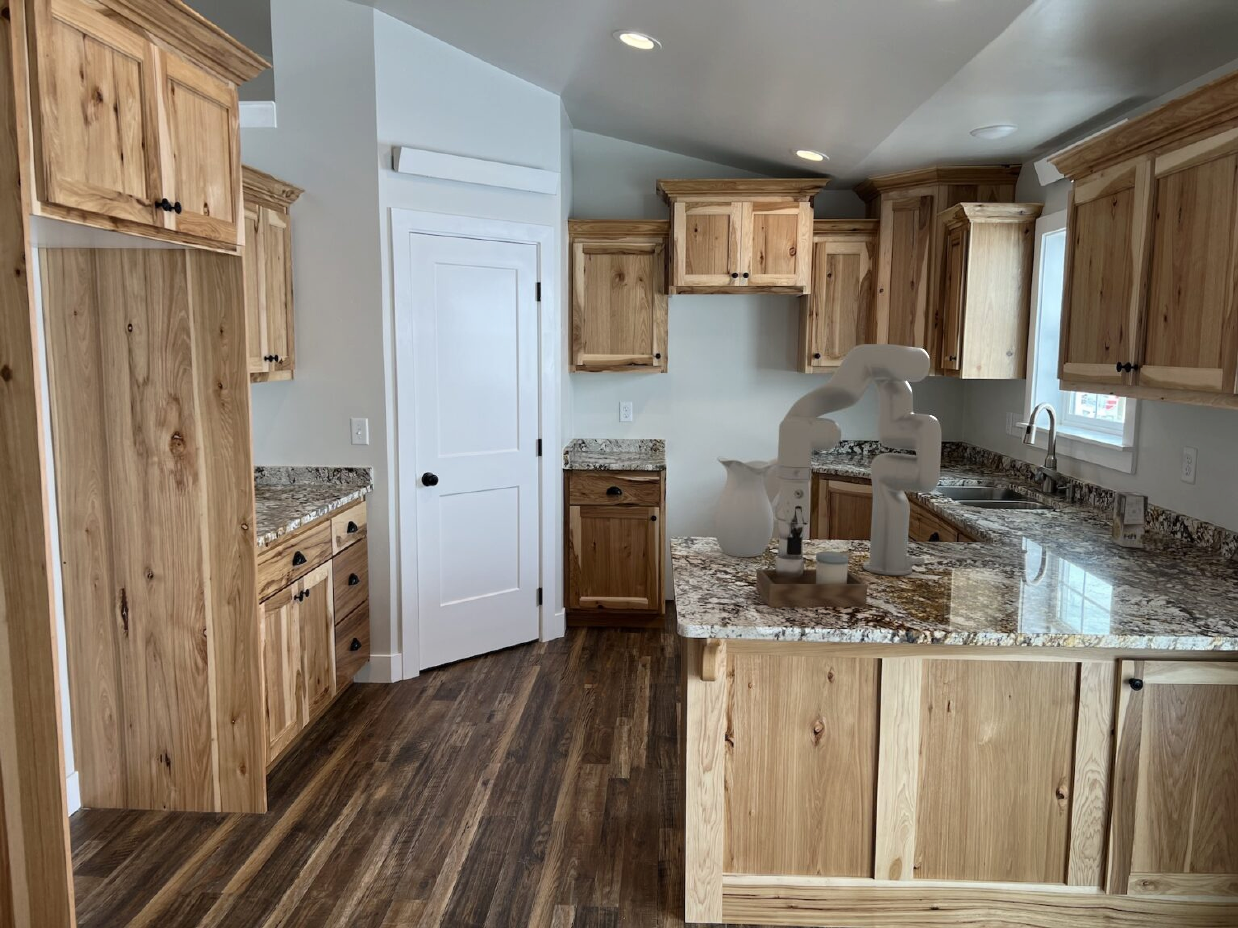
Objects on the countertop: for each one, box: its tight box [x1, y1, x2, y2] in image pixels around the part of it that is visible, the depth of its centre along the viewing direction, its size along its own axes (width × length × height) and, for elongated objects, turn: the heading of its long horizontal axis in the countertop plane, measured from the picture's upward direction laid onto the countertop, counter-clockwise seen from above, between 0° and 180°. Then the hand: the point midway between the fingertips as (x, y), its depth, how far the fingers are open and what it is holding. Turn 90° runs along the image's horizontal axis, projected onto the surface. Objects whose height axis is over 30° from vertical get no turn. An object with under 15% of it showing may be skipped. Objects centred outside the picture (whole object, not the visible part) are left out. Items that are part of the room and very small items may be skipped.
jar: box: [815, 550, 850, 584], centre depth 196 cm, size 7×7×10 cm
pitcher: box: [713, 456, 779, 558], centre depth 243 cm, size 24×17×28 cm
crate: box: [755, 568, 868, 608], centre depth 196 cm, size 22×14×6 cm, turn 94°
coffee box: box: [1110, 491, 1149, 549], centre depth 263 cm, size 9×6×16 cm
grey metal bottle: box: [774, 493, 806, 579], centre depth 194 cm, size 6×7×20 cm
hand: (790, 550), depth 194 cm, fingers closed on grey metal bottle, 5 cm apart
